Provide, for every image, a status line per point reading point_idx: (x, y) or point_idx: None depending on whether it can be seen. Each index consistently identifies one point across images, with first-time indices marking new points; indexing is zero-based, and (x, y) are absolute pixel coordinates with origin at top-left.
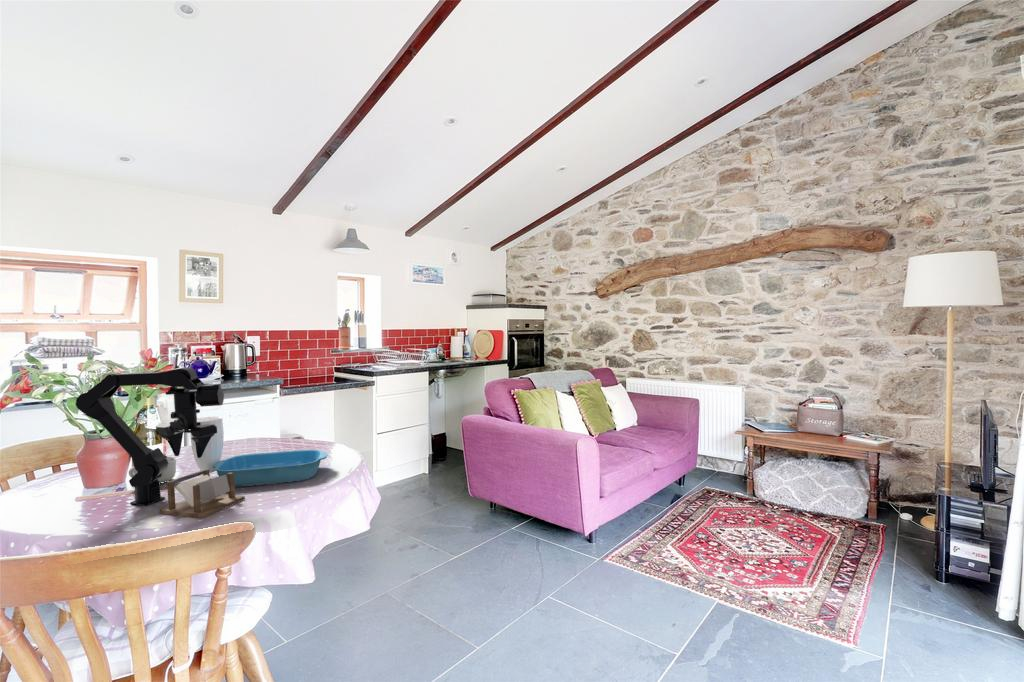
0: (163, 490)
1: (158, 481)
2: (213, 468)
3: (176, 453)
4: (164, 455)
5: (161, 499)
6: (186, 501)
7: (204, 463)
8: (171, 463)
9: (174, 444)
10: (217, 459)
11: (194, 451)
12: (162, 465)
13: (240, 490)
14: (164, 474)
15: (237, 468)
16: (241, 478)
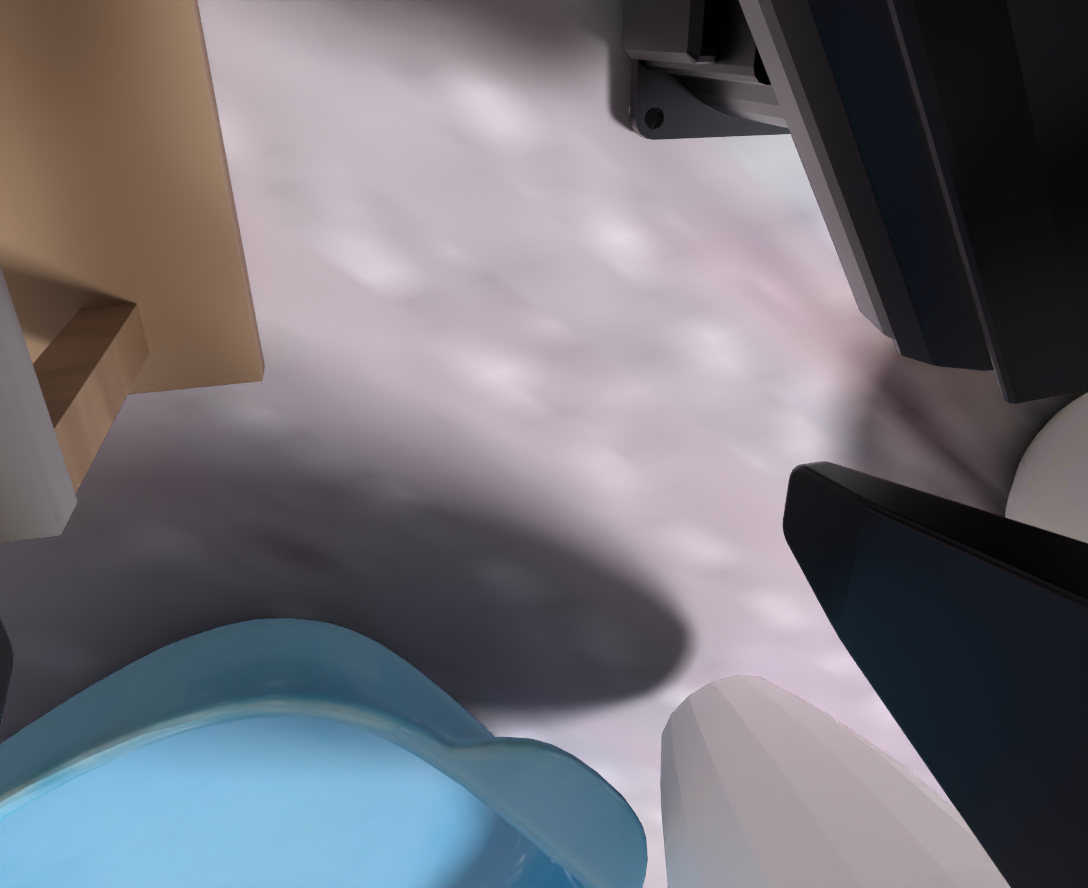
0: (882, 333)
1: (753, 61)
2: (664, 761)
3: (826, 513)
4: (1086, 375)
5: (633, 77)
6: (104, 32)
7: (737, 759)
8: None
9: (1067, 672)
10: (667, 872)
11: (932, 845)
12: (836, 123)
13: (19, 612)
14: (1065, 492)
15: (558, 873)
16: (23, 738)
